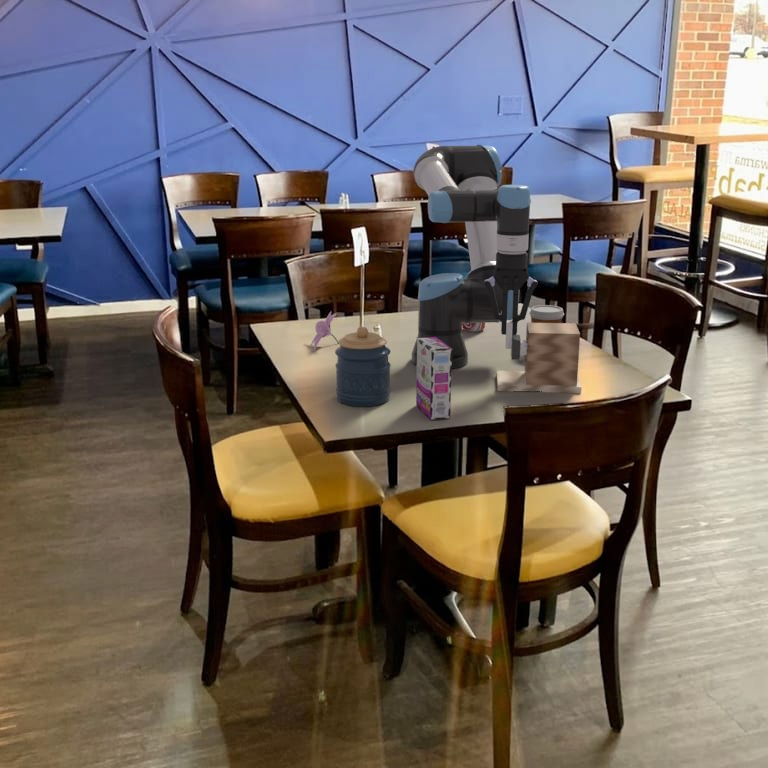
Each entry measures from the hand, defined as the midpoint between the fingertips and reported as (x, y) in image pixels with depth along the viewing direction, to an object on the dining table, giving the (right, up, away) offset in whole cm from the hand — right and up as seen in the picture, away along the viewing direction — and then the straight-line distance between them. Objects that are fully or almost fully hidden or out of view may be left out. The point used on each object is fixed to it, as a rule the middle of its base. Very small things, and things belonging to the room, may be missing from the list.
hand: (508, 347), depth 226 cm
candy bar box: (-19, -16, -16) cm, 30 cm away
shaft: (+8, -3, 0) cm, 9 cm away
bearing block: (+8, -9, +3) cm, 12 cm away
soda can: (-3, +7, +53) cm, 54 cm away
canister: (-36, -13, -7) cm, 38 cm away
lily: (-48, +2, +39) cm, 61 cm away
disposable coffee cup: (+14, 0, +32) cm, 35 cm away
